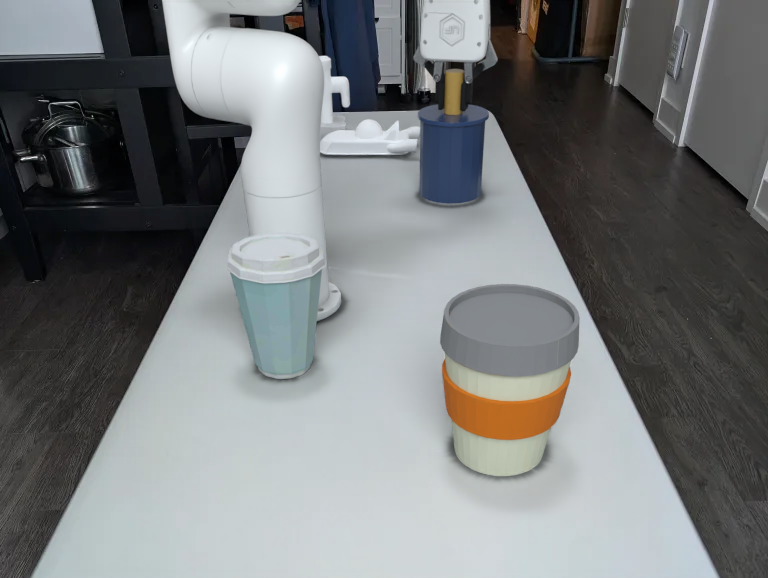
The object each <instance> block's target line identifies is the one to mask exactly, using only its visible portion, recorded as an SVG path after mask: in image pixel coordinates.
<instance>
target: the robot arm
mask: <svg viewBox="0 0 768 578" xmlns="http://www.w3.org/2000/svg"><path fill="white" fill-rule="evenodd" d="M161 2H162V9H163V16H164V22H165V29H166V37H167V44H168V49H169V50H168V51H169V58H170V62H171V63H170V64H171V68H172V74H173V79H174V83H175V85H176V89H177V91H178V95H180V98H181V99H182V101H183V103H184V104H185V105H186V107H187V108H188V109H189V110H190V111H192V112H193V113H195V114H196V115H199V116H200V117H204V118H208V119H213V120H216V121H224V122H230V123H237V124H242V125H244V126H248V127H249V126H250V127H251V135H250V138H249V140H248V143H247V145H246V147H245V149H244V152H243V154H242V158H241V163H240V178H241V185H242V190H243V191H242V192H243V199H244V209H245V215H246V224H247V231H248V237H251V236H255V235H259V234H264V233H283V232H287V233H294V234H302V235H306V236H309V237H311V238H313V239H315V240H317V241H318V245H319V246H321V247H322V249H323V255H324V259H325V267H324V268H322V274H321V284H320V293H319V303H318V313H317V322H319V321H322V320H324V319H327V318H328V317H330V316H332V315H334V313H336V312H337V311H338V310H339V309H340V307H341V304H342V293H341V290H340V288H338V286H337V285H335V284H334V283H333V282H330V281H329V271H328V256H327V240H326V226H325V224H326V223H325V210H324V195H323V182H322V181H323V180H322V167H321V166H322V165H321V153H320V123H321V112H322V103H323V95H324V71H323V66H322V63H321V60H320V58H319V56H320V55H319V53H317V51H316V50H315V48H314V47H313V46H312V45H311V44H310V43H308V42H307V41H306V40H304V39H303V38H301V37H299V36H296V35H294V34H291V33H288V32H285V31H284V32H283V31H278V30H268V29H259V28H258V29H257V28H250V27H246V28H245V27H244V28H242V27H234V26H231V20H230V19H231V18H230V15H231V14H232V15H241V16H242V15H243V16H256V17H278V16H284V15H286V14H289V13H291V12H293V10H295V9H296V8H297V6H298V5H299V4H300V2H301V0H161ZM421 10H422V12H421V22H420V23H421V25H420V36H419V37H420V39H419V44H418V45H417V49H416V50H415V52H414V54H413V58H412V59H413V61H414V62H415V63H416V64H418V65H420V66H421V67H423V68H425V70H426V71H427V72H428V73H429V75H430V76H431V77H432V80H433V82H435V87H434V88H435V89H434V91H435V93H434V101H435V104H437V105H438V110H442V109H444V94H445V71H446V65H447V62H452V63H453V62H454V63H463V70H464V81H463V83H462V84H461V103H460V110H461V111H466V109H467V108H468V105H472V103H473V92H474V91H473V90H474V89H473V88H474V81H475V79H476V78H478V76H479V75H480V74H482V72H483V71H485V70H488V69H489V68H491V67H493V66H495V65H496V64H497V63H498V59H499V58H498V55H497V53H496V51H495V49H494V45H493V43H492V40H491V0H423V2H422V9H421ZM484 58H485V59H484ZM477 62H478V63H477ZM476 63H477V64H476Z"/></svg>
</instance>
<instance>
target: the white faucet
mask: <svg viewBox="0 0 768 578" xmlns="http://www.w3.org/2000/svg"><path fill="white" fill-rule="evenodd" d="M318 56H319V58H320V60H321V63H322V66H323V71H324V95H323V103H322V112H321V123H320V142H321V140H322V138H324V137H325V136H326V135H327V134H329V133H331V132H334V131H337V130H346V125H347V124H346V116H345V115H334V112H333V110H334V109H333V94H338V93H339V94H340V98H341V106H342V107H343V108H345V109H346V108H349V107H350V106H351V97H350V96H351V93H350V91H351V90H350V82H349V79H348V78H347V77H346V76H344V75H343V76H332V74H331V71H332V59H331V57H330V56H328V55H318Z"/></svg>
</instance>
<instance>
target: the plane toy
mask: <svg viewBox="0 0 768 578" xmlns="http://www.w3.org/2000/svg"><path fill="white" fill-rule="evenodd" d="M418 140H419V141H420V126H410V127H407V128H405V129H403V130H400V119H398V120H396V121H395V122H393V124H392V125H391V126H390V127H389V128H388V129H386V130H383V127H382V126H381V124H380V123H378V122H377V120H374V119H372V118H371V119H370V118H369V119H368V118H367V119H364V120H362V121H360V122H359V123H358V124H357V126H356V128H355V129H344V130H337V131H334V132H331V133H329V134H327V135H326V136H325V137H324V138H322V140H321V142H320V154H323V155H327V156H398V155H402V156H403V155H407V154H409V153H416V152H417V145H418Z"/></svg>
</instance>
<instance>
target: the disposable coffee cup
mask: <svg viewBox="0 0 768 578" xmlns="http://www.w3.org/2000/svg"><path fill="white" fill-rule="evenodd" d="M227 253H228V255H227V267H226V270H227V271H228V272H229V274H230V277H231V281H232V284H233V285H232V286H233V288H234V292H235V295H236V299H237V303H238V306H239V309H240V313H241V316H242V317H241V318H242V322H243V325H244V328H245V332H246V335H247V336H246V337H247V340H248V342H249V347H250V350H251V353H252V357H253V361H254V365H255V366H256V367H257V369H258V371H259V372H260V373H262V375H264V376H265V377H268V378H273V379H276V380H284V379H285V380H286V379H294V378H297V377H300V376H303V375H305V374H306V372H308V371H309V369H311V365H312V364H313V360H314V350H315V343H316V342H315V339H316V333H317V322H318V321H317V313H318V303H319V293H320V284H321V274H322V268H324V267H325V259H324V255H323V249H322V247H321V246H319V245H318V241H317V240H315V239H313V238H311V237H309V236H306V235H302V234H294V233H287V232H283V233H264V234H259V235H255V236H251V237H249V236H246V237H244V238H242V239H240V240H239V241H237V242H235V243H234V244H232V245H231V248H230V249H229V250H228V252H227Z"/></svg>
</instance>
